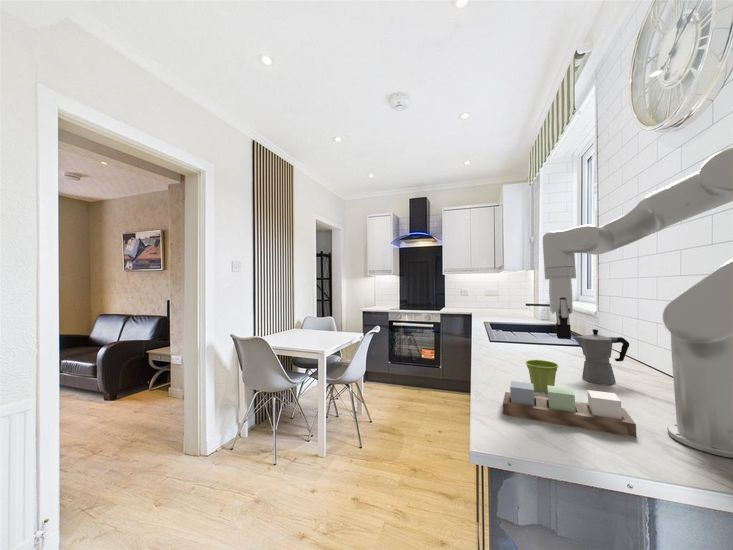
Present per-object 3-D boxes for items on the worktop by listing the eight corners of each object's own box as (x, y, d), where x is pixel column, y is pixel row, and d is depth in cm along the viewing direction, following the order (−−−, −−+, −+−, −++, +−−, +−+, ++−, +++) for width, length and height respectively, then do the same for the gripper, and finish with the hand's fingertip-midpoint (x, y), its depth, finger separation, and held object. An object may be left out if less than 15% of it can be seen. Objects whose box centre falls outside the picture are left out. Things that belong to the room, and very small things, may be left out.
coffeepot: (575, 381, 102) (572, 330, 102) (575, 374, 109) (572, 326, 110) (634, 389, 93) (630, 332, 94) (629, 380, 101) (625, 328, 101)
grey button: (534, 401, 80) (533, 383, 80) (534, 409, 75) (533, 389, 76) (512, 398, 83) (511, 381, 83) (511, 405, 78) (510, 386, 78)
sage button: (573, 407, 76) (571, 388, 76) (575, 415, 71) (574, 395, 71) (548, 403, 78) (547, 385, 79) (549, 411, 74) (548, 391, 74)
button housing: (624, 420, 72) (624, 408, 72) (636, 437, 64) (635, 424, 64) (505, 402, 85) (505, 391, 85) (503, 414, 77) (502, 403, 77)
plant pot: (559, 387, 96) (557, 361, 96) (561, 397, 88) (559, 368, 88) (527, 383, 101) (525, 358, 101) (526, 392, 93) (524, 365, 93)
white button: (616, 413, 71) (615, 393, 72) (622, 423, 67) (621, 401, 67) (588, 409, 74) (587, 390, 74) (592, 418, 69) (591, 397, 70)
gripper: (543, 275, 92) (547, 333, 91) (545, 273, 78) (549, 342, 77) (572, 274, 88) (576, 334, 87) (579, 272, 75) (584, 344, 74)
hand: (563, 337), depth 82 cm, fingers closed
